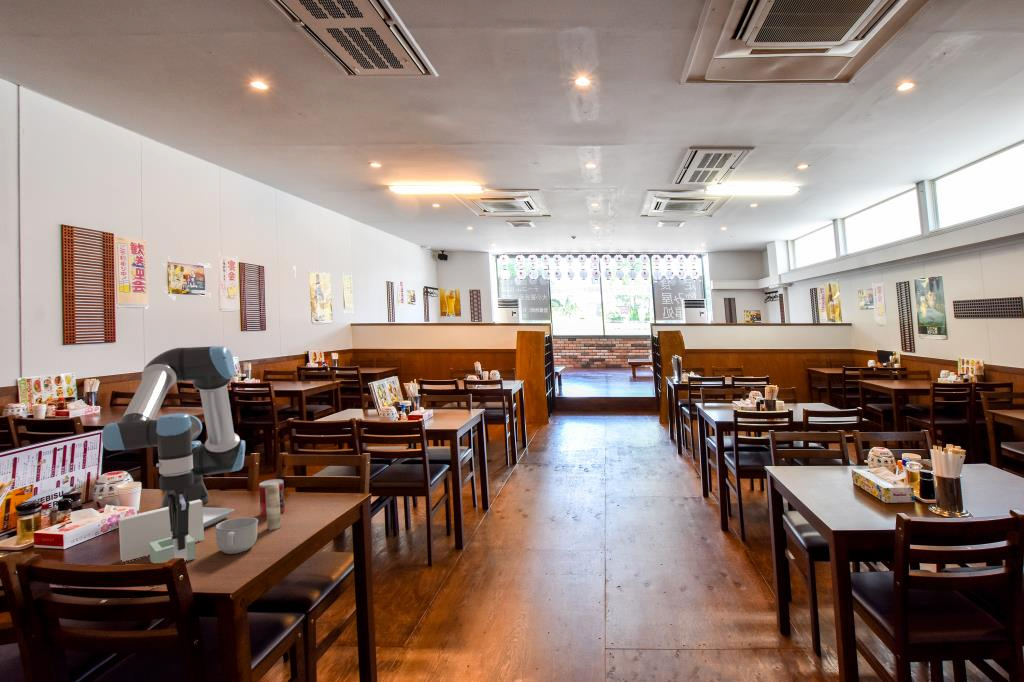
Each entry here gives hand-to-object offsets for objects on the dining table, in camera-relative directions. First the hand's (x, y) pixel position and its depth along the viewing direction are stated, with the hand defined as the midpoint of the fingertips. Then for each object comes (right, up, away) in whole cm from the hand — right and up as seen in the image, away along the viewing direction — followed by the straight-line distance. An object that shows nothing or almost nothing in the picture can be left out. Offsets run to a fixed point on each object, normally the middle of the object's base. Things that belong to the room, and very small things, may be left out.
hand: (180, 560), depth 132 cm
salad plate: (-20, -4, +33) cm, 39 cm away
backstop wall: (-15, -3, +14) cm, 21 cm away
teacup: (+9, -3, +11) cm, 14 cm away
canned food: (+4, -2, +42) cm, 42 cm away
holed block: (-7, -3, +7) cm, 10 cm away
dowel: (+11, -2, +28) cm, 30 cm away
